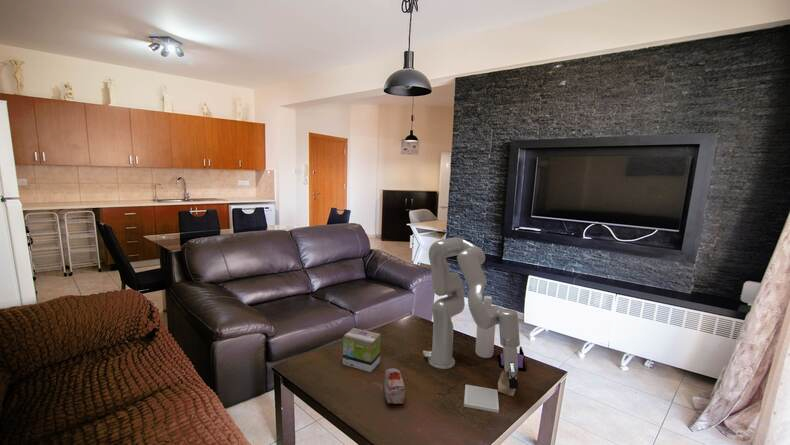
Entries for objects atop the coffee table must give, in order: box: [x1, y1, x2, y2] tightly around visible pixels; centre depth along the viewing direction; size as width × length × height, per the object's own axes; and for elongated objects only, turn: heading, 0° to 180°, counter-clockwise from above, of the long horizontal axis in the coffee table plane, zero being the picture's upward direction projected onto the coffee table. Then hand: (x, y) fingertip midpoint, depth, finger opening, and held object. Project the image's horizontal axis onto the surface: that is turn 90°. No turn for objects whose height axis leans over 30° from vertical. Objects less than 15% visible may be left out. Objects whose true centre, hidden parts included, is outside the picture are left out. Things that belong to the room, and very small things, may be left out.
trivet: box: [463, 384, 500, 414], centre depth 139 cm, size 13×13×1 cm
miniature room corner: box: [497, 346, 527, 372], centre depth 168 cm, size 12×12×7 cm
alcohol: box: [475, 295, 496, 359], centre depth 173 cm, size 9×9×30 cm
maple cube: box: [497, 370, 517, 397], centre depth 145 cm, size 6×6×6 cm
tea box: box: [342, 327, 382, 373], centre depth 161 cm, size 15×10×15 cm, turn 68°
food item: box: [383, 367, 406, 405], centre depth 139 cm, size 14×8×10 cm, turn 11°
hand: (512, 382), depth 140 cm, fingers open, 9 cm apart
